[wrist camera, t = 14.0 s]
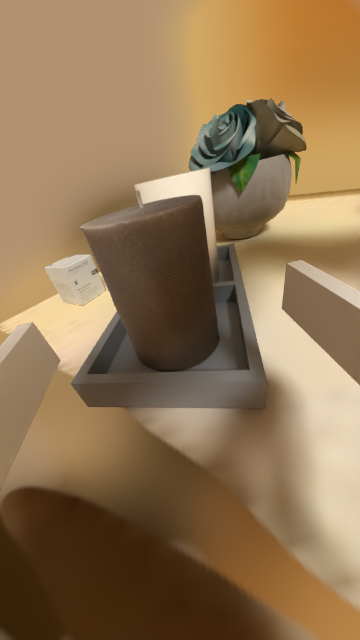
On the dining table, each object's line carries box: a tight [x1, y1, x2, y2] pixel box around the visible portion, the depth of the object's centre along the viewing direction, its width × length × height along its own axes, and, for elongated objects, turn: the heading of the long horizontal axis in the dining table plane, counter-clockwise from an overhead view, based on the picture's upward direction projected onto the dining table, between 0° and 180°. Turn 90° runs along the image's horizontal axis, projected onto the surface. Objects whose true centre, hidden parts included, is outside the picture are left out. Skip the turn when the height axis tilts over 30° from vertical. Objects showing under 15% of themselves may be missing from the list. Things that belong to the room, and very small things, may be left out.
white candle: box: [134, 168, 219, 283], centre depth 32 cm, size 10×10×15 cm
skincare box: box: [44, 255, 106, 306], centre depth 40 cm, size 6×6×7 cm
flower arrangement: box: [189, 99, 306, 239], centre depth 48 cm, size 25×25×24 cm
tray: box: [71, 244, 267, 408], centre depth 30 cm, size 16×31×4 cm, turn 173°
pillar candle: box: [79, 190, 220, 371], centre depth 20 cm, size 10×10×15 cm
